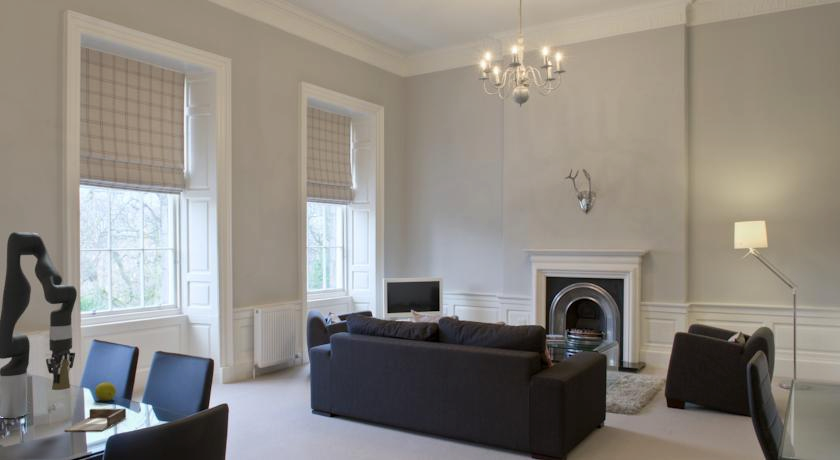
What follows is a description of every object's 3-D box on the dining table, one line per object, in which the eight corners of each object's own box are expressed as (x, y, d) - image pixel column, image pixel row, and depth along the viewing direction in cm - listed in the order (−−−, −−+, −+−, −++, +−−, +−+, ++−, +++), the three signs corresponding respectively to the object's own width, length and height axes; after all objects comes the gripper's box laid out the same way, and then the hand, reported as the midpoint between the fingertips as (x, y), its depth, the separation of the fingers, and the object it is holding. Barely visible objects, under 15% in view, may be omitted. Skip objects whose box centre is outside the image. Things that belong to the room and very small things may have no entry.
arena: (64, 431, 229) (64, 422, 230) (91, 417, 247) (91, 408, 247) (101, 431, 229) (101, 422, 229) (125, 417, 247) (125, 408, 247)
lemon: (119, 400, 273) (119, 382, 273) (100, 404, 267) (100, 385, 267) (110, 396, 280) (110, 379, 280) (91, 399, 275) (91, 381, 275)
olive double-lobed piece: (60, 390, 231) (60, 361, 231) (47, 389, 233) (47, 360, 233) (73, 386, 237) (73, 358, 237) (61, 385, 239) (61, 357, 239)
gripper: (63, 334, 243) (63, 377, 242) (38, 340, 228) (38, 386, 228) (82, 334, 242) (82, 378, 242) (57, 340, 228) (57, 387, 228)
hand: (60, 382), depth 235 cm, fingers closed on olive double-lobed piece, 4 cm apart
